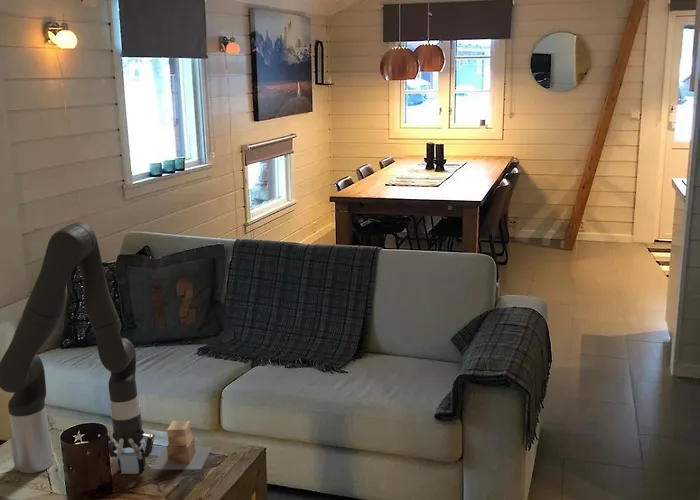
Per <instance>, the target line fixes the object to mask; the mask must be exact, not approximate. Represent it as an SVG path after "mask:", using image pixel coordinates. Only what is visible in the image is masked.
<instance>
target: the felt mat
mask: <svg viewBox="0 0 700 500" xmlns="http://www.w3.org/2000/svg"><path fill="white" fill-rule="evenodd" d="M212 449H213V447H212V446H195V451H196V453H195V454H194V456H193V458H192V460H191V462H190V463H168V455H167V446H164V447H163V448H162V450H161V452H160V453H159V454H158V456H157V458H156V460H155V461H154V462H153V465H152V466H151V468H150V469H151V470H198V471H199V470H202V468H203V467H204V464H205V463H206V461H207V458H208V456H209V454H210V453H211V450H212Z"/></svg>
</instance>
